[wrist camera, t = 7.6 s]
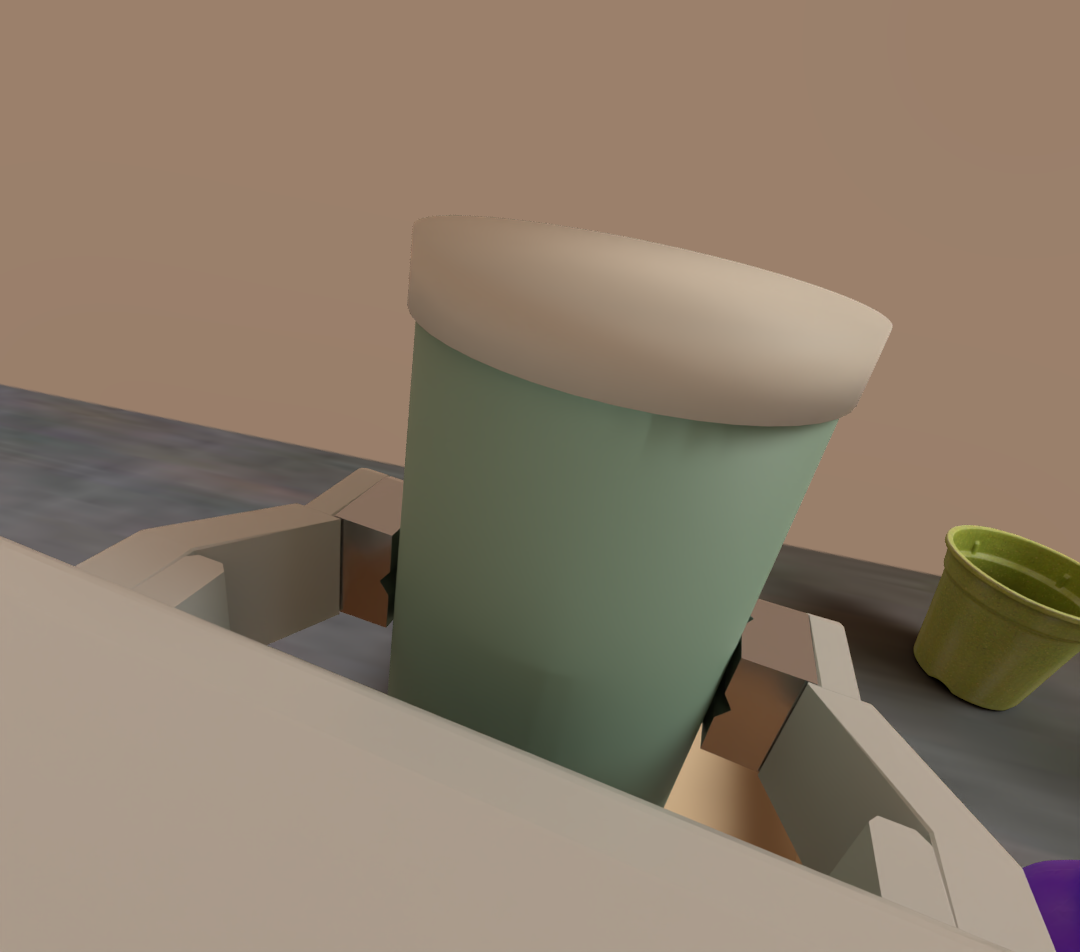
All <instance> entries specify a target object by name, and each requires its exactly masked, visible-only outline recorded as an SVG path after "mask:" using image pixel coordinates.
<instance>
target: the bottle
mask: <svg viewBox="0 0 1080 952" xmlns="http://www.w3.org/2000/svg"><path fill="white" fill-rule="evenodd" d="M1022 869H1023V871H1024V873H1025V876H1026V878H1027V881H1028V883H1029V886H1030V888H1031V891H1032V893H1033V896H1034V898H1035V901H1036V903H1037V906H1038V908H1039V911H1040V913H1041V915H1042V918H1043V920H1044V923H1045V925H1046V928H1047V930H1048V933H1049V935H1050V938H1051V940H1052V943H1053V945H1054V948H1055V950H1056V952H1080V860H1051V861H1043V862H1038V863H1034V864H1031V865H1029V866H1026V867H1024V868H1022Z"/></svg>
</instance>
